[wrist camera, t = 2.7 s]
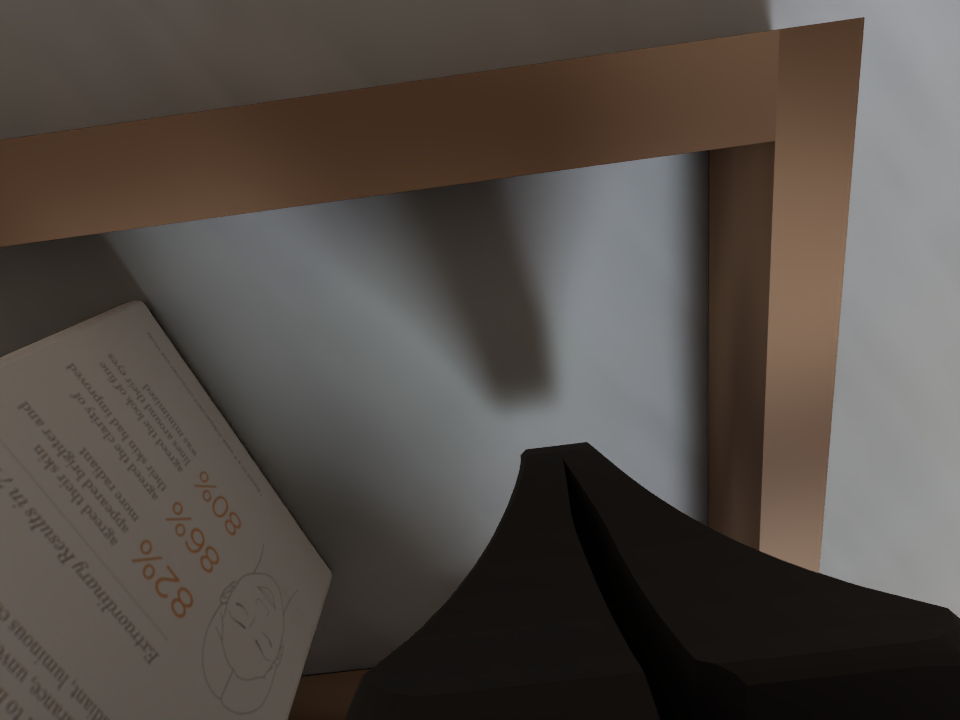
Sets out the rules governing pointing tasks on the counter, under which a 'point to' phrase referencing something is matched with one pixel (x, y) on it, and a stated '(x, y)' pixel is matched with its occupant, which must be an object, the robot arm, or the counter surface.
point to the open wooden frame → (537, 149)
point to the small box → (140, 541)
